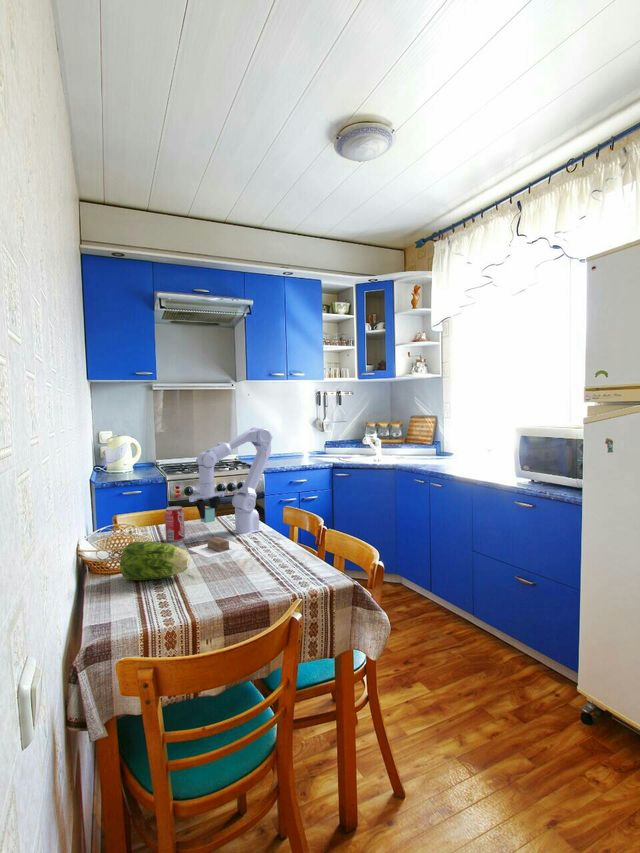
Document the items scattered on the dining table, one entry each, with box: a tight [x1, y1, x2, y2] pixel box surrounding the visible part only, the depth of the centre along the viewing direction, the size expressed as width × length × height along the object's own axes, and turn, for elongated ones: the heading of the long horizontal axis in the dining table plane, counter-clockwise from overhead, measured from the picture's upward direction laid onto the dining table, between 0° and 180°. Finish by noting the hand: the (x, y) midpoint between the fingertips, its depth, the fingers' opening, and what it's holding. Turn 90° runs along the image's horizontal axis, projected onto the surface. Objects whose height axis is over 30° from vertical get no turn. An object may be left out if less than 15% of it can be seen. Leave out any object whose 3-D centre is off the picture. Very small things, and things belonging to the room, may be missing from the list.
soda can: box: [164, 505, 186, 543], centre depth 179 cm, size 7×7×13 cm
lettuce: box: [119, 541, 191, 581], centre depth 139 cm, size 12×21×11 cm, turn 90°
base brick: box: [207, 536, 230, 552], centre depth 166 cm, size 4×8×3 cm, turn 45°
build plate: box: [188, 538, 246, 558], centre depth 167 cm, size 16×14×1 cm
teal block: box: [200, 506, 216, 524], centre depth 179 cm, size 4×4×5 cm
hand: (207, 517), depth 179 cm, fingers closed on teal block, 4 cm apart
